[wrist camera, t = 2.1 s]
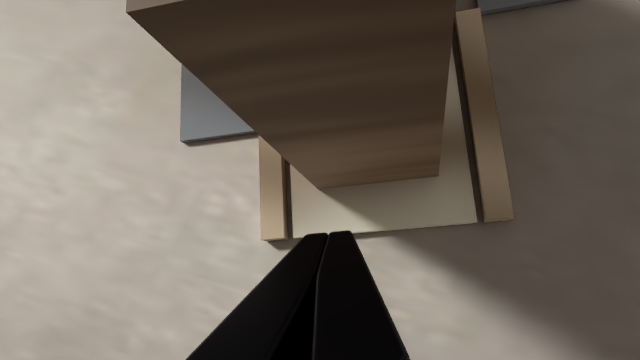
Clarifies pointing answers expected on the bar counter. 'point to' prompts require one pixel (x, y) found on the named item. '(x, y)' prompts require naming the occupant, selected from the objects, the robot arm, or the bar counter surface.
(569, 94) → the bar counter surface
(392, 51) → the walnut block
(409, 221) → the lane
